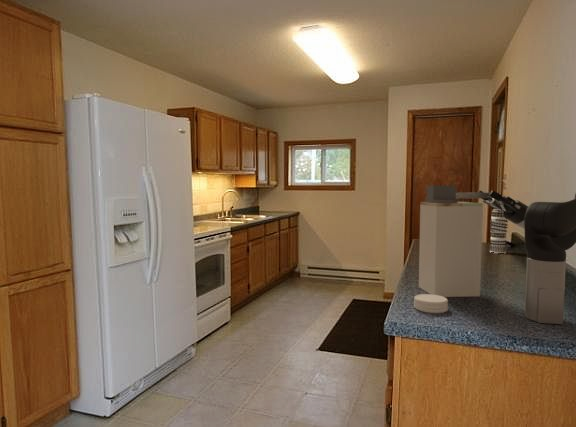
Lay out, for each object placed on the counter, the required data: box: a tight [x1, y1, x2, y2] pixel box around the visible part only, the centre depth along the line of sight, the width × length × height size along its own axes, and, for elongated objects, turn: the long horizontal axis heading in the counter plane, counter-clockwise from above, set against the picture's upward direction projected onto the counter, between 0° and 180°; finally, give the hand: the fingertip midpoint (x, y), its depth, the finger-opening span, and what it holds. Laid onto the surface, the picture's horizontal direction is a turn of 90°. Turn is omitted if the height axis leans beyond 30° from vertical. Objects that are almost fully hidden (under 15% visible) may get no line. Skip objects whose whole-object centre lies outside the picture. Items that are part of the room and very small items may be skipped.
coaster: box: [413, 293, 449, 314], centre depth 122 cm, size 10×10×4 cm
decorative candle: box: [489, 208, 509, 254], centre depth 225 cm, size 9×9×25 cm
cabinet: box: [418, 198, 484, 298], centre depth 141 cm, size 16×14×33 cm
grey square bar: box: [425, 185, 492, 203], centre depth 140 cm, size 24×6×6 cm, turn 93°
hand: (484, 192), depth 140 cm, fingers open, 8 cm apart
